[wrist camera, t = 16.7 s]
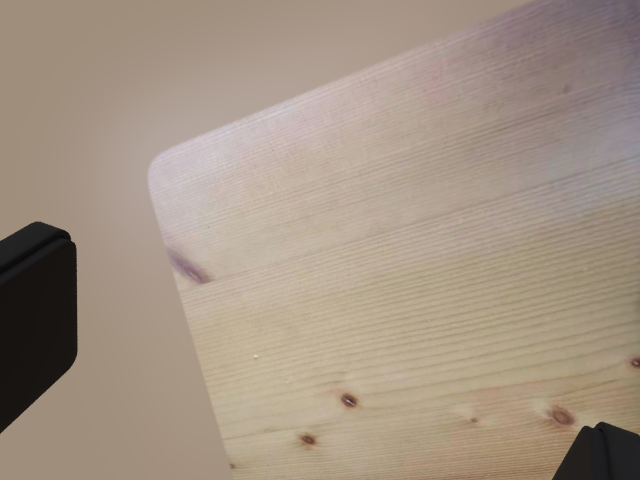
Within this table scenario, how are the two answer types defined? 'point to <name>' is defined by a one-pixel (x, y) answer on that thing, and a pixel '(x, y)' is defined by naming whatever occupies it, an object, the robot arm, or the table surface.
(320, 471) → the table surface
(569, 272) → the table surface
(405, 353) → the table surface
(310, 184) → the table surface
